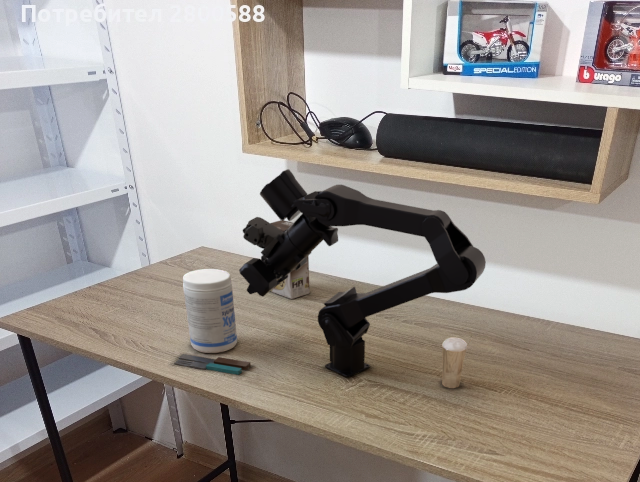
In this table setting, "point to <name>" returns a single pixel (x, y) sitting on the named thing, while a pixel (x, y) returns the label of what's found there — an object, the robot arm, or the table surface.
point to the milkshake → (453, 361)
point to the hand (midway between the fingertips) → (248, 291)
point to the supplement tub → (210, 310)
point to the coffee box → (293, 274)
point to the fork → (209, 366)
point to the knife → (218, 361)
